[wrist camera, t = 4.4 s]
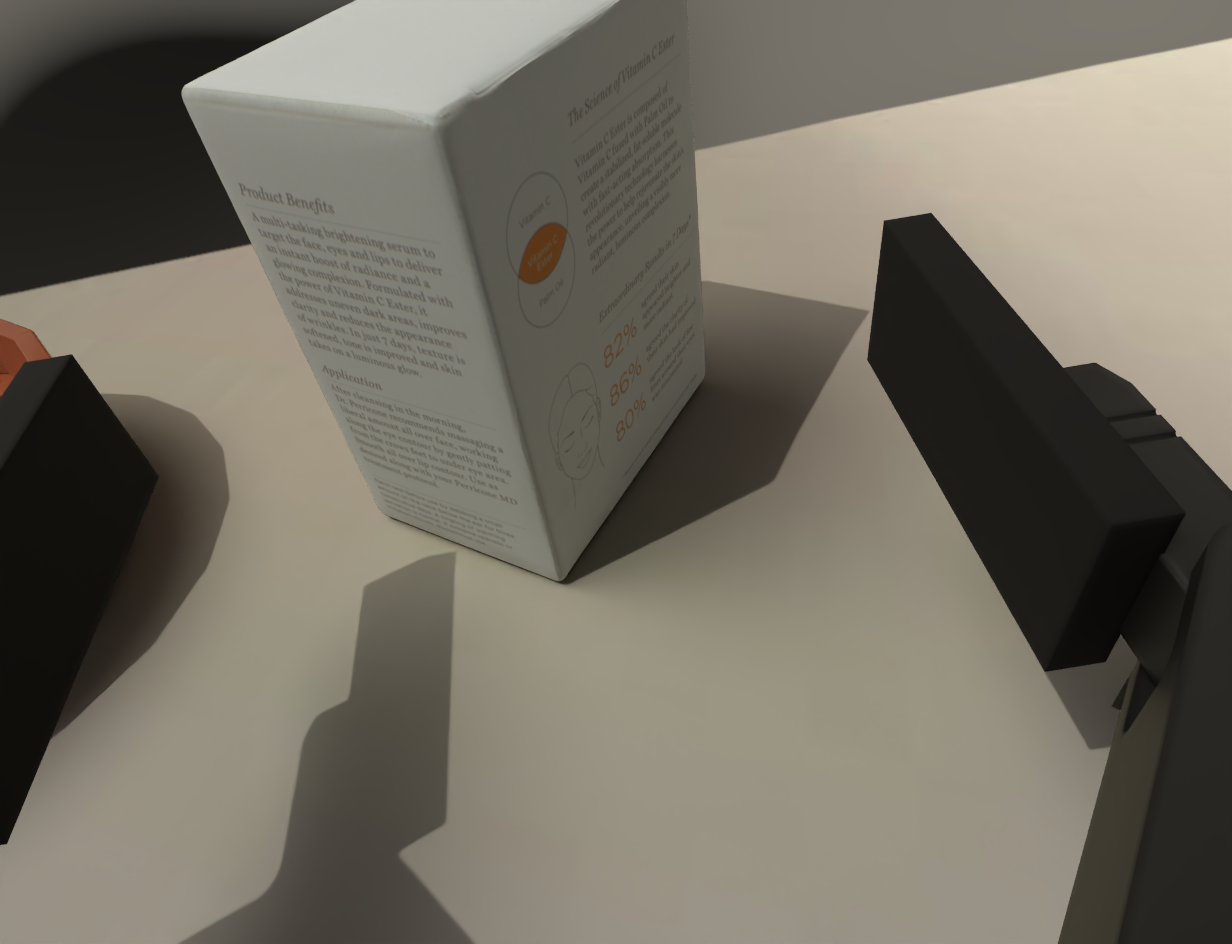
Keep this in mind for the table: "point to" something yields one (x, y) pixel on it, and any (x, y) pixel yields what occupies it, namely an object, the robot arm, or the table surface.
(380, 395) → the small box
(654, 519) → the table surface
